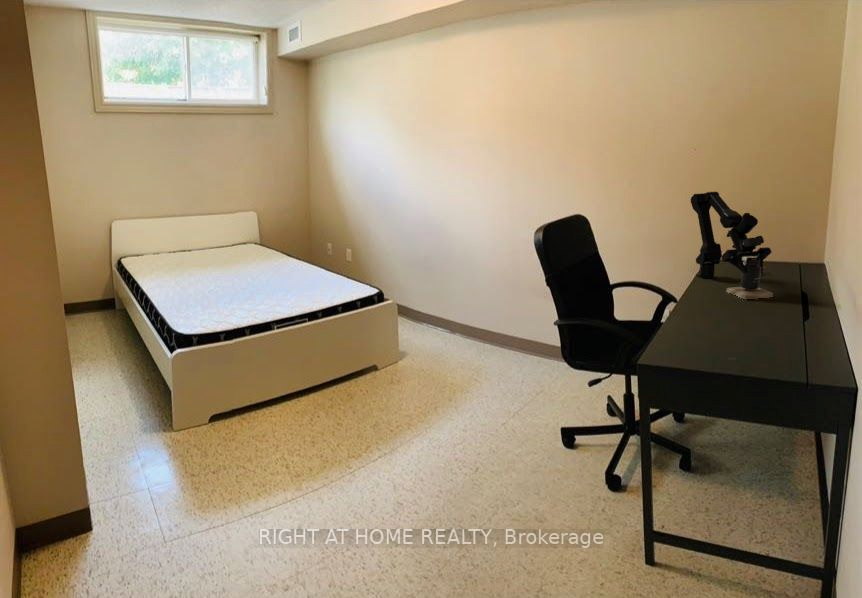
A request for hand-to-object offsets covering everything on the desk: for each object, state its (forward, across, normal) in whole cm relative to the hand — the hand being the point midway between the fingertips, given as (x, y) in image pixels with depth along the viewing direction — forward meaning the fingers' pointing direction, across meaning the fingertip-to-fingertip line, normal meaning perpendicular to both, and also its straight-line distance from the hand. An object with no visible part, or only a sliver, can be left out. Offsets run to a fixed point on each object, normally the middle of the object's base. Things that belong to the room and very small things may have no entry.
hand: (753, 272), depth 240 cm
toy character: (-16, +24, +31) cm, 43 cm away
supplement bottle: (+4, 0, +6) cm, 7 cm away
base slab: (+6, 0, +8) cm, 10 cm away
